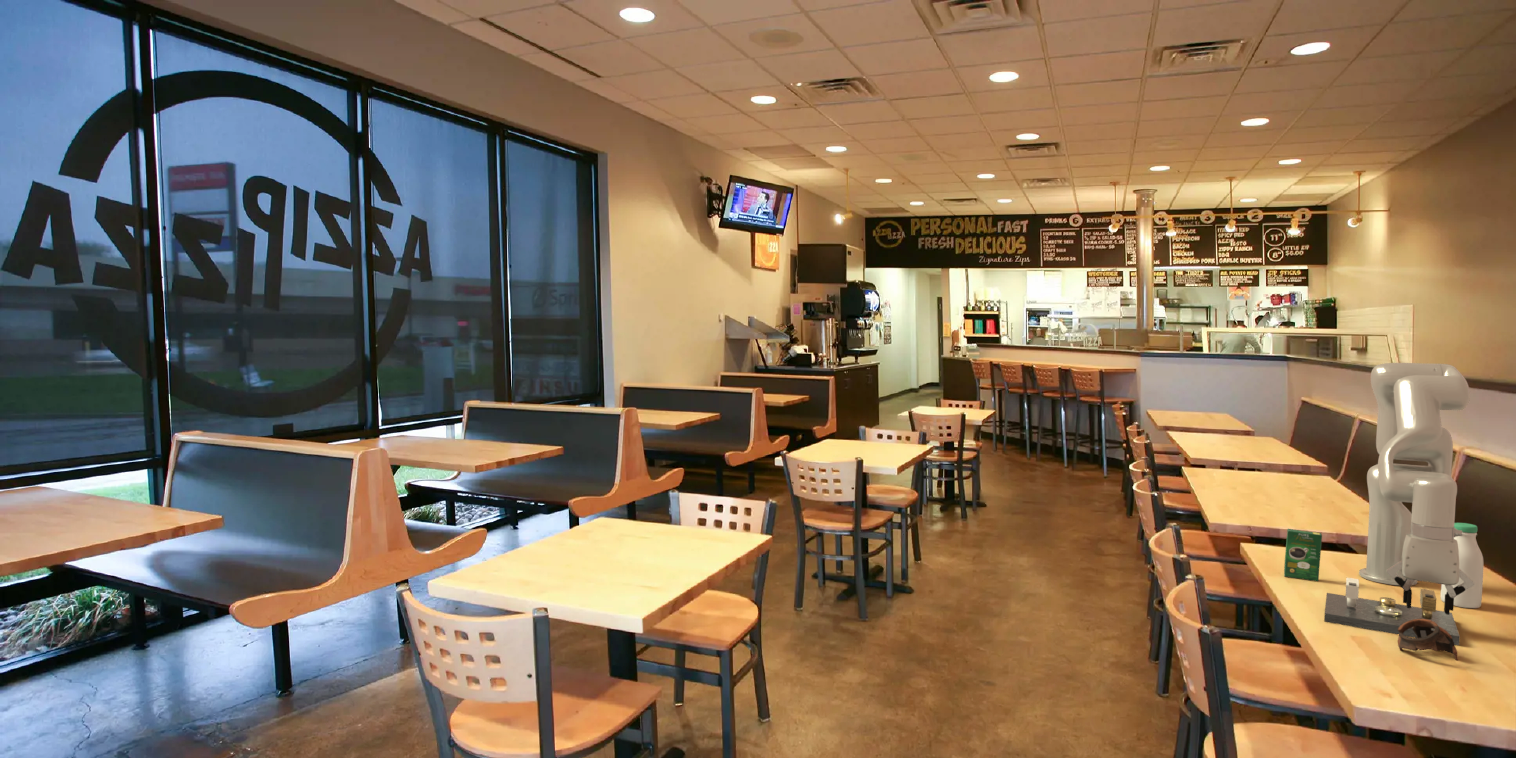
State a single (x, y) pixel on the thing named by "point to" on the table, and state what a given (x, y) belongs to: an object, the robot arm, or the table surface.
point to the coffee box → (1302, 554)
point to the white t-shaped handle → (1352, 591)
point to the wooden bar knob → (1427, 603)
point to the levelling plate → (1382, 615)
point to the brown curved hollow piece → (1426, 637)
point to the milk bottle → (1468, 567)
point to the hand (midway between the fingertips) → (1427, 609)
